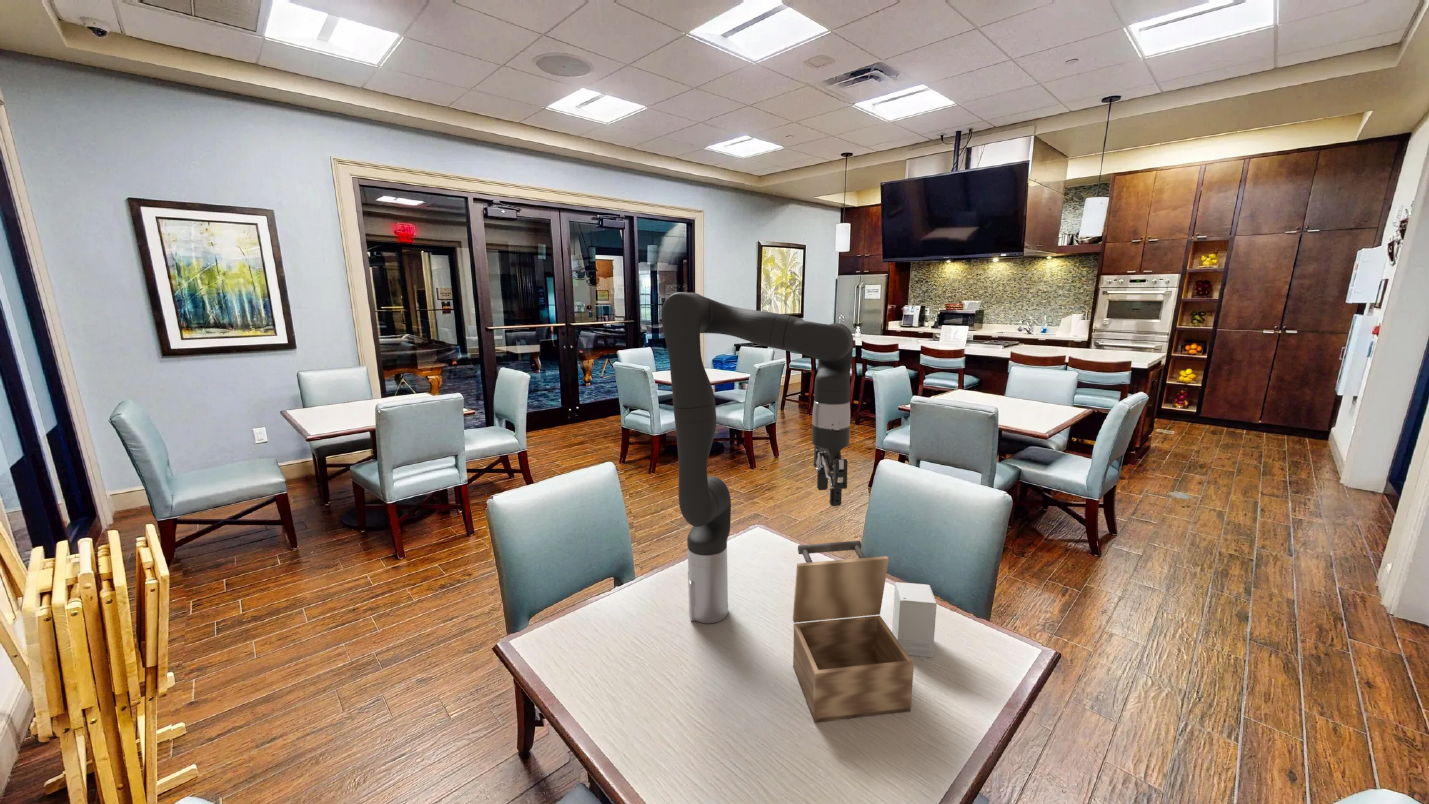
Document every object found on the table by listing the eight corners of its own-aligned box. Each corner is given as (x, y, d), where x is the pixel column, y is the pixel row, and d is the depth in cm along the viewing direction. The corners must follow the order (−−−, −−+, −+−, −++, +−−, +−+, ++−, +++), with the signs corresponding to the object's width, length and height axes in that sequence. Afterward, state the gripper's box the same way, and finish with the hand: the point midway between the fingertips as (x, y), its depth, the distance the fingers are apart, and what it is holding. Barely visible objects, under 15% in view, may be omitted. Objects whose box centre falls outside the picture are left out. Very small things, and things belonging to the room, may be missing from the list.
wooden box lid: (798, 566, 98) (786, 537, 106) (793, 622, 103) (783, 591, 111) (888, 558, 100) (870, 531, 108) (879, 614, 105) (863, 584, 113)
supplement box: (933, 658, 107) (937, 603, 104) (896, 654, 108) (899, 600, 106) (926, 635, 114) (930, 584, 111) (891, 632, 115) (894, 580, 113)
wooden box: (814, 722, 92) (815, 673, 89) (793, 667, 105) (793, 623, 103) (910, 711, 94) (913, 663, 91) (877, 658, 107) (879, 615, 105)
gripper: (803, 415, 112) (801, 485, 115) (824, 432, 98) (821, 512, 101) (837, 413, 113) (834, 484, 116) (862, 431, 99) (858, 510, 102)
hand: (828, 497), depth 109 cm, fingers open, 8 cm apart
